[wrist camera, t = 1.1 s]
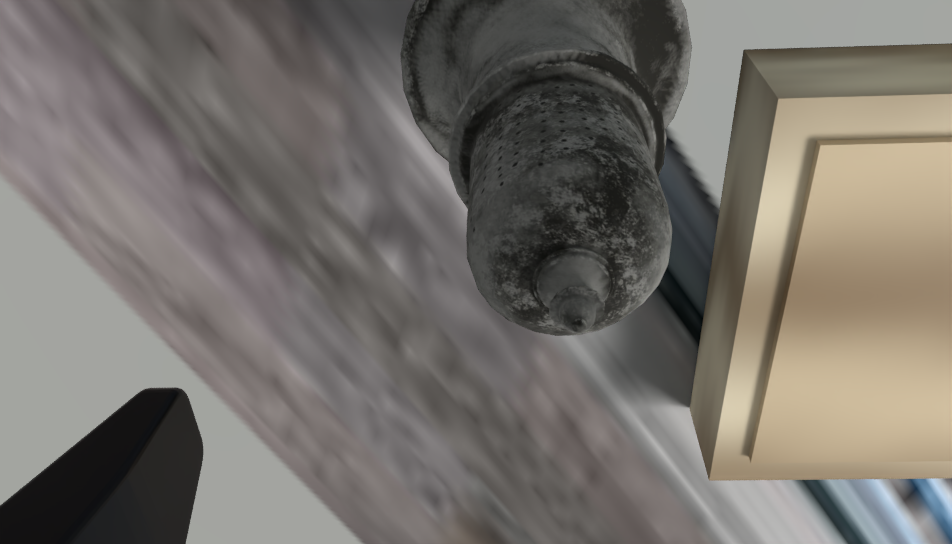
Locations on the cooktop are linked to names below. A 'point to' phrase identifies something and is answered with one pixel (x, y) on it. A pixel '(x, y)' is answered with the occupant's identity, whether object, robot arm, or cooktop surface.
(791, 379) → the soap dish
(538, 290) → the salt shaker
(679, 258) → the cooktop surface
